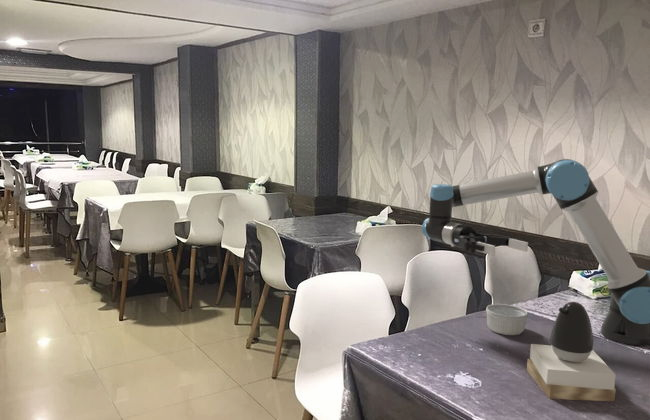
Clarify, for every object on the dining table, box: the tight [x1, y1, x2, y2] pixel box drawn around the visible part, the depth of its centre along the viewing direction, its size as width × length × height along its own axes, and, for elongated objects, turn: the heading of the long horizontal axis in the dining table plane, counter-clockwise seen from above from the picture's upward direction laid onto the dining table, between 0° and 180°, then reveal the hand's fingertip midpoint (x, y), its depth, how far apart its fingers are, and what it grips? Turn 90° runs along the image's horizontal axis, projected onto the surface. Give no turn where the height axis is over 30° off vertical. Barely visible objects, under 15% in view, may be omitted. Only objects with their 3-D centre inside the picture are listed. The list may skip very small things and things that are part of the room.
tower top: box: [529, 343, 617, 390], centre depth 137 cm, size 16×16×4 cm
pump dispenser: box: [549, 301, 594, 362], centre depth 136 cm, size 10×10×15 cm
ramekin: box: [485, 303, 529, 336], centre depth 176 cm, size 13×13×7 cm
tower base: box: [526, 358, 617, 402], centre depth 138 cm, size 16×16×4 cm
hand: (510, 248), depth 152 cm, fingers open, 13 cm apart
